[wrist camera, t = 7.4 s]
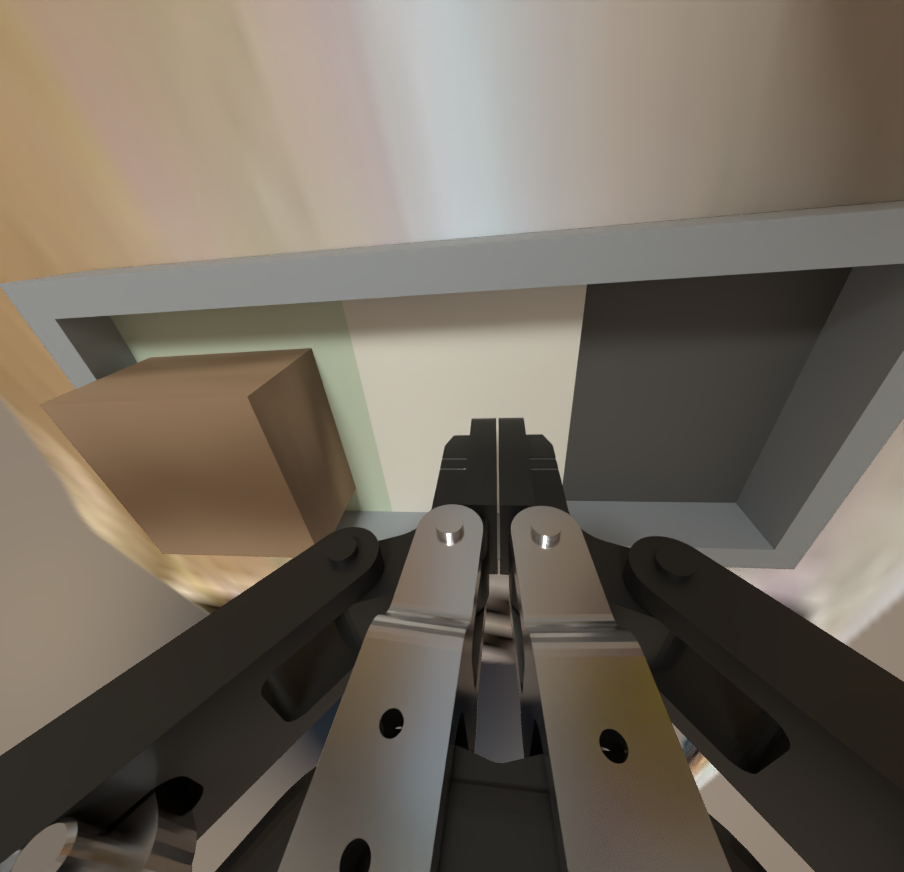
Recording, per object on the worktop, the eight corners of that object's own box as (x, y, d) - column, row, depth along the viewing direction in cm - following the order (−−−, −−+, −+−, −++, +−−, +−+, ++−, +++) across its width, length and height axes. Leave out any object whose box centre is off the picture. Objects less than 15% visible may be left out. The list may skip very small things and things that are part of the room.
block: (150, 357, 12) (39, 404, 9) (311, 348, 11) (247, 396, 8) (226, 487, 15) (163, 553, 12) (356, 488, 14) (320, 558, 11)
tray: (87, 270, 12) (-2, 283, 9) (924, 198, 8) (1065, 195, 6) (228, 508, 17) (193, 548, 15) (750, 517, 14) (793, 569, 12)
